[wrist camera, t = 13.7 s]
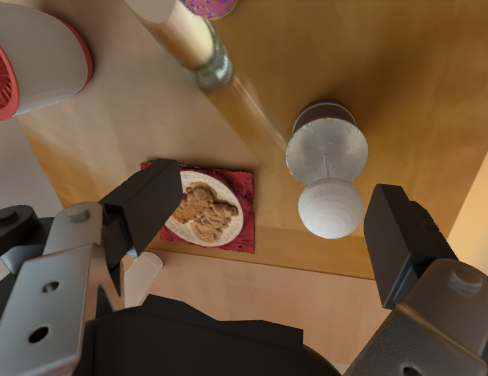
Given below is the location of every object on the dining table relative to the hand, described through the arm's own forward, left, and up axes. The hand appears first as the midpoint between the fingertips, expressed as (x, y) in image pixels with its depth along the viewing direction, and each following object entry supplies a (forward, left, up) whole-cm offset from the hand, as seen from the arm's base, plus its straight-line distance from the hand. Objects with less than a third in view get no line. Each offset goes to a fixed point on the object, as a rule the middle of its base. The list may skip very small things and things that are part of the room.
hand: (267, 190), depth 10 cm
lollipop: (+7, +7, -24) cm, 26 cm away
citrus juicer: (+11, -44, -36) cm, 58 cm away
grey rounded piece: (+7, +7, -36) cm, 37 cm away
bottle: (+62, -21, -36) cm, 75 cm away
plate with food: (+35, -10, -36) cm, 51 cm away
